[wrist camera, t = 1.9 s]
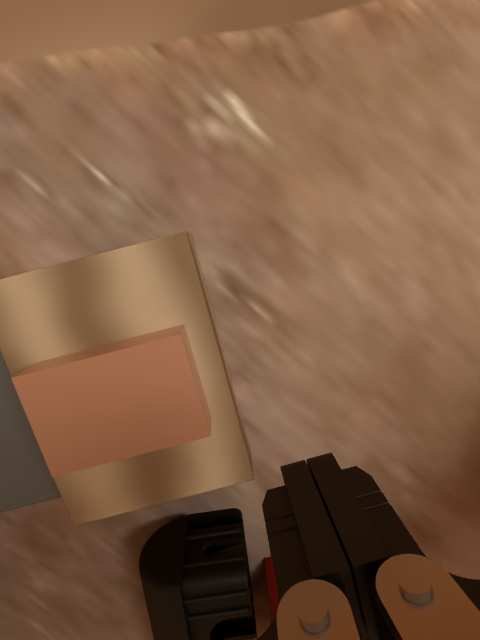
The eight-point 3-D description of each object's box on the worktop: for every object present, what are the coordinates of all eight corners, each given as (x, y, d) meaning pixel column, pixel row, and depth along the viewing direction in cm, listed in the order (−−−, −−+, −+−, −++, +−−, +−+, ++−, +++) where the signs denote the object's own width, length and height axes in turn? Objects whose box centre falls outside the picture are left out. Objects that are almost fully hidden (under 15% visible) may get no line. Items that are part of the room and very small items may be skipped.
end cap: (149, 513, 28) (128, 596, 22) (240, 501, 29) (246, 578, 22) (169, 616, 31) (155, 719, 24) (253, 603, 31) (263, 702, 24)
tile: (184, 324, 21) (180, 334, 19) (211, 416, 23) (210, 436, 20) (33, 363, 21) (11, 378, 19) (69, 452, 23) (52, 477, 20)
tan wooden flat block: (191, 233, 24) (185, 231, 20) (249, 445, 28) (254, 479, 24) (13, 278, 24) (-26, 286, 20) (94, 485, 28) (73, 526, 24)
